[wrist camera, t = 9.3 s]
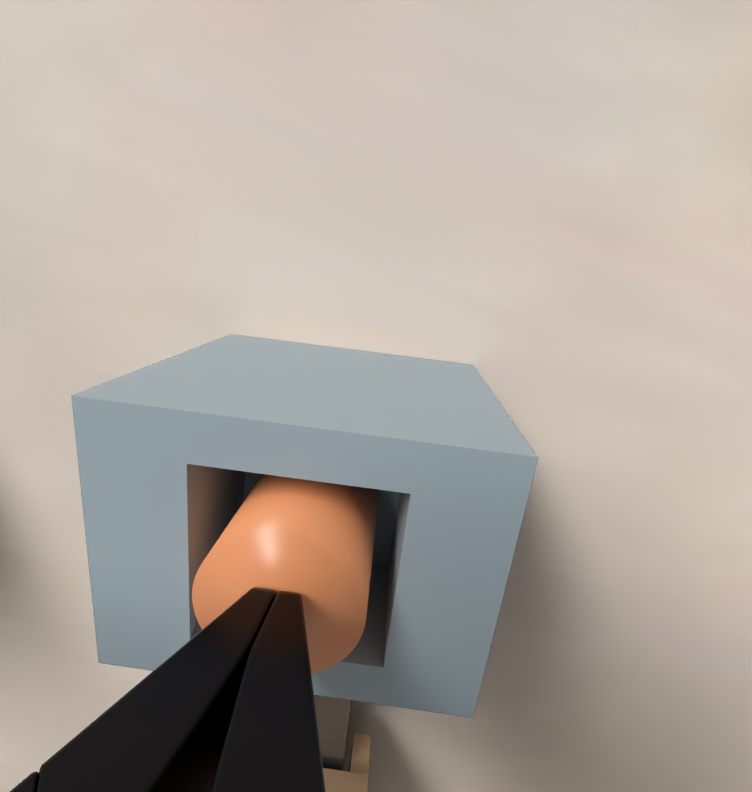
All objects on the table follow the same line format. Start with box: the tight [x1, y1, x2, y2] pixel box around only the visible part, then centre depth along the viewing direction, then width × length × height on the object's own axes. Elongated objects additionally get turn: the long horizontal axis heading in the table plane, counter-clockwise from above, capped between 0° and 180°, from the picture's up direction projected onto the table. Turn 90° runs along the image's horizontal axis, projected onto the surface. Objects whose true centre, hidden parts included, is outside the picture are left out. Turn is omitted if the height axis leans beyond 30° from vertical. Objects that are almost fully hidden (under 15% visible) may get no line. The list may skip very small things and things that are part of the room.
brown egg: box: [192, 474, 378, 674], centre depth 9 cm, size 3×3×4 cm
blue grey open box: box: [71, 334, 538, 718], centre depth 11 cm, size 6×8×7 cm
